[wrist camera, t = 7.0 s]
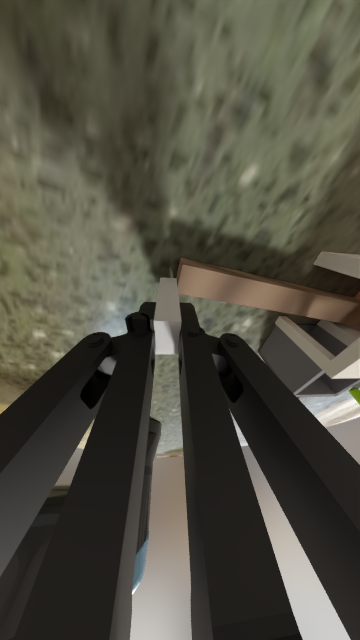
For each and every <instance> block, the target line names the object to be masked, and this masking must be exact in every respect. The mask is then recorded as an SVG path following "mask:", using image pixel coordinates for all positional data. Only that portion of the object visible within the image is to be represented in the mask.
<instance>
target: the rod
mask: <svg viewBox="0 0 360 640" xmlns="http://www.w3.org/2000/svg"><path fill="white" fill-rule="evenodd" d="M176 279H177V287H178V293H179V294H184V295H190V296H195V297H201V298H206V299H212V300H217V301H223V302H228V303H234V304H239V305H245V306H250V307H256V308H261V309H267V310H272V311H278V312H283V313H289V314H294V315H300V316H305V317H311V318H316V319H322V320H327V321H333V322H338V323H344V324H350V325H355V326H356V325H358V324H359V323H360V300H358V299H356V298H353V297H349V296H345V295H341V294H336V293H332V292H328V291H323V290H319V289H315V288H310V287H306V286H302V285H298V284H293V283H289V282H285V281H280V280H276V279H272V278H268V277H263V276H259V275H255V274H250V273H246V272H242V271H237V270H233V269H229V268H225V267H220V266H216V265H212V264H207V263H203V262H199V261H194V260H190V259H186V258H182V257H181V258H180V262H179V267H178V272H177V277H176Z"/></svg>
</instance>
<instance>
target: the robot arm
mask: <svg viewBox="0 0 360 640" xmlns="http://www.w3.org/2000/svg"><path fill="white" fill-rule="evenodd" d="M125 321H126V325H127V330H128V332H127V333H126V334H124V335H121V336H117V337H112V338H111V336H110V335H109V334H107V333H105V332H97V333H93V334H90V335H88V336H86V337H85V338H83V339H82V340H81V341H80V342H79V343H78V344H77V345H76V346H75V347H73V348H72V349H71V350H70V351H69V352H68V353H67V354H66V355H65V356H64V357H63V358H61V359H60V360H59V361H58V362H57V363H56V364H55V365H54V366H53V367H52V368H51V369H49V370H48V371H47V372H46V373H45V374H44V375H43V376H42V377H41V378H40V379H38V380H37V381H36V382H35V383H34V384H33V385H32V386H31V387H30V388H29V389H28V390H26V391H25V392H24V393H23V394H22V395H21V396H20V397H19V398H18V399H17V400H16V401H14V402H13V403H12V404H11V405H10V406H9V407H8V408H7V409H6V410H5V411H3V412H2V413H1V414H0V640H129V639H130V629H131V615H132V594H133V593H134V592H135V590H136V589H137V587H138V585H139V584H140V582H141V579H142V577H143V573H144V569H145V561H146V551H147V543H148V542H147V541H148V538H149V530H148V529H149V514H150V499H151V483H152V468H153V460H154V457H155V453H156V450H157V446H158V443H159V439H160V436H161V424H160V423H159V422H157V421H155V420H151V419H149V418H150V408H151V398H152V388H153V378H154V368H155V354H178V352H179V359H178V368H177V369H179V383H180V400H181V418H182V435H183V452H184V468H185V486H186V503H187V520H188V536H189V552H190V553H189V554H190V571H191V626H192V640H303V639H302V637H301V634H300V632H299V629H298V626H297V623H296V620H295V617H294V615H293V612H292V608H291V605H290V602H289V599H288V596H287V593H286V589H285V586H284V583H283V580H282V576H281V573H280V570H279V567H278V564H277V560H276V557H275V554H274V551H273V548H272V544H271V541H270V538H269V535H268V532H267V528H266V526H265V522H264V519H263V516H262V513H261V509H260V506H259V503H258V500H257V497H256V493H255V490H254V487H253V484H252V481H251V478H250V474H249V471H248V468H247V465H246V461H245V458H244V455H243V452H242V449H241V445H240V442H239V439H238V436H237V433H236V429H235V426H234V423H233V420H232V417H231V413H232V415H233V417H234V418H235V420H236V422H237V424H238V426H239V428H240V430H241V432H242V434H243V436H244V437H245V439H246V441H247V443H248V445H249V447H250V449H251V451H252V452H253V455H254V456H255V458H256V460H257V462H258V464H259V466H260V468H261V470H262V472H263V474H264V475H265V477H266V479H267V481H268V483H269V485H270V487H271V489H272V490H273V493H274V494H275V496H276V498H277V500H278V502H279V504H280V506H281V508H282V509H283V511H284V513H285V515H286V517H287V519H288V521H289V523H290V525H291V527H292V528H293V530H294V532H295V534H296V536H297V538H298V540H299V542H300V544H301V546H302V548H303V549H304V551H305V553H306V555H307V557H308V559H309V561H310V563H311V565H312V566H313V569H314V570H315V572H316V574H317V576H318V578H319V580H320V582H321V584H322V586H323V587H324V589H325V591H326V593H327V595H328V597H329V599H330V601H331V603H332V604H333V606H334V608H335V610H336V612H337V614H338V616H339V618H340V620H341V622H342V624H343V625H344V627H345V629H346V631H347V633H348V635H349V637H350V639H351V640H360V465H359V464H358V463H357V462H356V461H355V459H354V458H353V457H352V456H351V455H350V454H349V453H348V452H347V451H346V450H345V449H344V448H343V447H342V445H341V444H340V443H339V442H338V441H337V440H336V439H335V438H334V437H333V436H332V435H331V434H330V433H329V432H328V430H327V429H326V428H325V427H324V426H323V425H322V424H321V423H320V422H319V421H318V420H317V419H316V418H315V416H314V415H313V414H312V413H311V412H310V411H309V410H308V409H307V408H306V407H305V406H304V405H303V404H302V403H301V401H300V400H299V399H298V398H297V397H296V396H295V395H294V394H293V393H292V392H291V391H290V390H289V389H288V387H287V386H286V385H285V384H284V383H283V382H282V381H281V380H280V379H279V378H278V377H277V376H276V375H275V373H274V372H273V371H272V370H271V369H270V368H269V367H268V366H267V365H266V364H265V363H264V362H263V361H262V360H261V358H260V357H259V356H258V355H257V354H256V353H255V352H254V351H253V350H252V349H251V348H250V347H249V346H248V344H247V343H246V342H245V341H244V340H243V339H242V338H240V337H239V336H237V335H235V334H231V333H225V334H222V335H221V337H220V338H217V337H213V336H210V335H207V334H205V331H204V330H203V329H202V328H201V327H200V326H199V322H198V319H197V315H196V312H195V308H194V306H193V305H192V304H191V303H179V296H178V287H177V279H176V278H160V283H159V290H158V296H157V302H144V303H143V304H142V305H141V306H140V309H139V312H135V313H132V314H130V315H128V316H127V317H126V318H125ZM229 409H230V410H229ZM230 411H231V413H230ZM97 412H98V413H97ZM96 414H97V416H96ZM95 416H96V418H95V421H94V424H93V426H92V429H91V432H90V434H89V437H88V440H87V442H86V445H85V448H84V451H83V453H82V456H81V459H80V461H79V464H78V467H77V469H76V472H75V475H74V477H73V480H72V483H71V484H60V485H55V483H56V482H57V480H58V478H59V477H60V475H61V473H62V472H63V470H64V468H65V466H66V465H67V463H68V461H69V460H70V458H71V456H72V455H73V453H74V451H75V450H76V448H77V446H78V445H79V443H80V441H81V439H82V438H83V436H84V434H85V433H86V431H87V429H88V428H89V426H90V424H91V422H92V421H93V419H94V417H95Z"/></svg>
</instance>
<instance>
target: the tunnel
mask: <svg viewBox="0 0 360 640" xmlns="http://www.w3.org/2000/svg"><path fill="white" fill-rule="evenodd" d="M313 264H314V265H317V266H320V267H323V268H327V269H330V270H333V271H336V272H339V273H343V274H346V275H349V276H352V277H356V278H359V279H360V255H356V254H345V253H334V252H323V251H321V253H320V254H319V256H318V257H317V259H316V260H315V262H314V263H313ZM275 324H276V326H275V328H274V329H273V331H272V332H271V334H270V335H269V337H268V338H267V340H266V341H265V343H264V344H263V346H262V347H261V349H260V350H259V352H258V353H259V354H260V356H261V357H262V359H263V360H264V362H265V363H266V365H267V366H268V367H269V368H270V369H271V370H272V371H273V372H274V373H275V375H276V376H277V377H278V378H279V379H280V380H281V381H282V382H283V383H284V384H285V385H286V386H287V387H288V389H289V390H290V391H291V392H292V393H293V394H294V395H295V396H296V397H320V396H337V395H339V394H341V393H342V392H344V391H346V390H347V389H349V388H351V387H353V386H354V385H356V384H358V383H359V382H360V323H359V324H358V325H356V326H355V325H350V324H344V323H338V322H333V321H327V320H322V319H321V320H320V322H319V323H318V324H317V325H311V324H295V323H294V322H293V321H291V320H290V319H289V318H288V317H287V316H279V317H278V319H277V320H276V322H275Z"/></svg>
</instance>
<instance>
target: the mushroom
mask: <svg viewBox="0 0 360 640" xmlns="http://www.w3.org/2000/svg"><path fill="white" fill-rule="evenodd" d="M349 392H350V393H351V395H352V396H353V397H354V398H355V400H356V401H357V402H358V403H359V404H360V390H359V389H358V388H356V389H352V390H350V391H349Z"/></svg>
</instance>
